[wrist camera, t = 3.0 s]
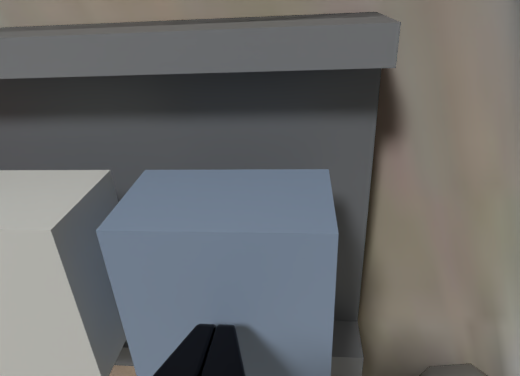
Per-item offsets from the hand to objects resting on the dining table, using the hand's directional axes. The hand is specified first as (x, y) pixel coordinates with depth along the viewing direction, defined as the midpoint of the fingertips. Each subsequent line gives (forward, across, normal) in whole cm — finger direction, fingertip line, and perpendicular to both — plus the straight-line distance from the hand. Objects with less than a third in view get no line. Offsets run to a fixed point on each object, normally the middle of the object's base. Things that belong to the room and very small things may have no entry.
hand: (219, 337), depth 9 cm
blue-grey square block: (+3, 0, 0) cm, 3 cm away
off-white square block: (+3, +6, 0) cm, 7 cm away
